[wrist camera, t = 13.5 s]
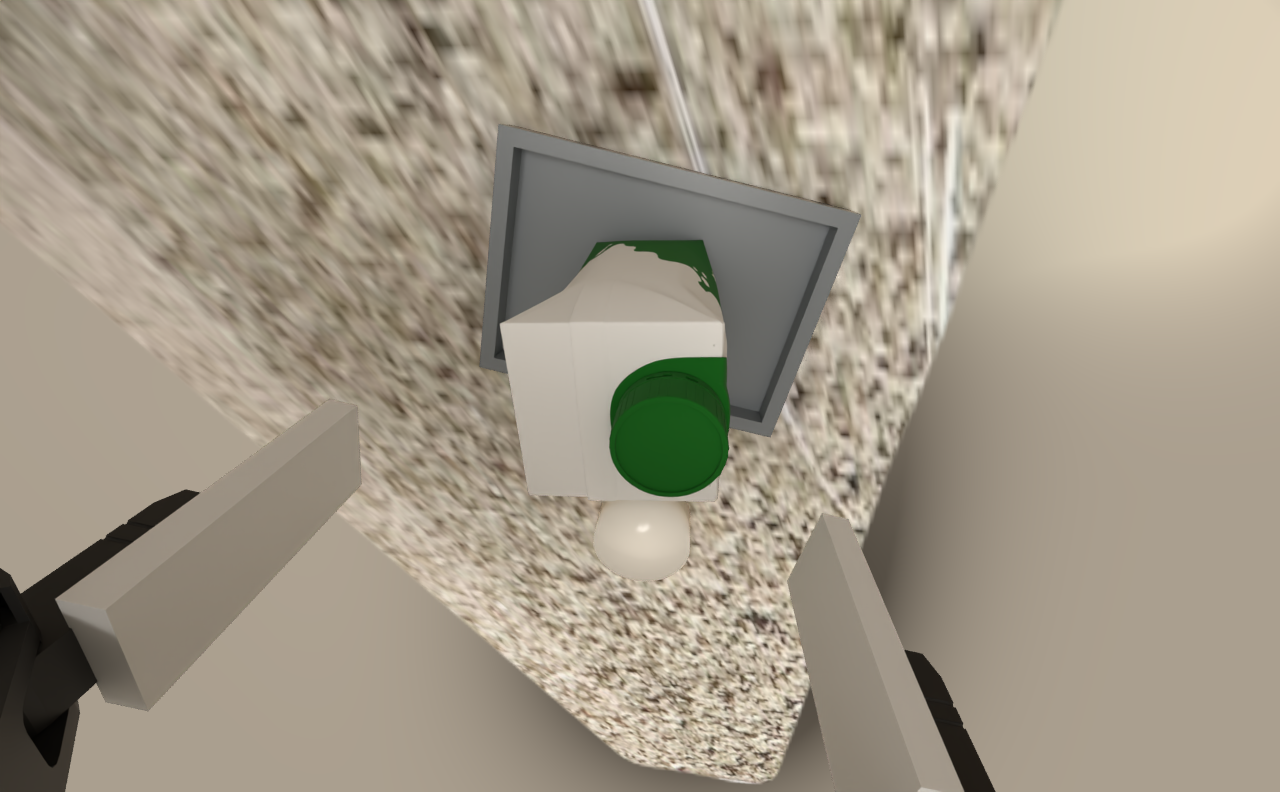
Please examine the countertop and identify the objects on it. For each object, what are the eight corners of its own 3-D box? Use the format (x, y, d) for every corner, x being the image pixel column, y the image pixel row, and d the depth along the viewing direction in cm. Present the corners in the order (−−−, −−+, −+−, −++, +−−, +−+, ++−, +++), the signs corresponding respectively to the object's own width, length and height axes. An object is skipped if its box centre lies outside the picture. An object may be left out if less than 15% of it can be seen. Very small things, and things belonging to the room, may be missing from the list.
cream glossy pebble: (594, 536, 46) (585, 568, 43) (610, 467, 43) (602, 497, 39) (677, 555, 46) (676, 590, 43) (700, 489, 43) (701, 520, 39)
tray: (491, 354, 39) (479, 367, 36) (512, 125, 31) (498, 123, 29) (765, 420, 39) (770, 437, 37) (849, 209, 32) (861, 214, 29)
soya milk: (713, 351, 36) (734, 553, 18) (590, 351, 37) (495, 543, 19) (717, 224, 32) (748, 323, 14) (579, 227, 33) (447, 325, 15)
